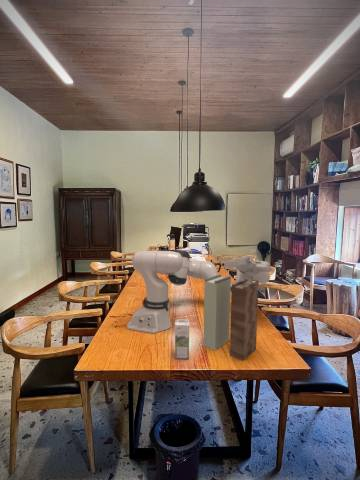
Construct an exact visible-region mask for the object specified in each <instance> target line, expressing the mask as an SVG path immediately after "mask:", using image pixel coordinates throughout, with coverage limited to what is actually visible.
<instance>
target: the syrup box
mask: <svg viewBox="0 0 360 480" xmlns="http://www.w3.org/2000/svg"><path fill="white" fill-rule="evenodd" d="M174 359H175V360H176V359H177V360H180V359H181V360H182V359H183V360H185V359H186V360H187V359H188V360H189V359H190V322H189V319H174Z"/></svg>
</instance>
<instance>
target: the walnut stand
mask: <svg viewBox="0 0 360 480" xmlns="http://www.w3.org/2000/svg"><path fill="white" fill-rule="evenodd" d="M247 280H248V279H244V280H241V281H239V282H236V281H235V282H234V283H231V284H232V291H231V292H230V328H229V357H231V358H234V359H237V360H240V361H245V360H246V359H247V358H248V357H249V356H250V355H252V354H253V352H255V351H256V350H257V333H258V330H257V329H258V309H259V308H258V307H259V306H258V305H259V284H260V283H259V281H256V280H254V281H253V282H248V281H247Z"/></svg>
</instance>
